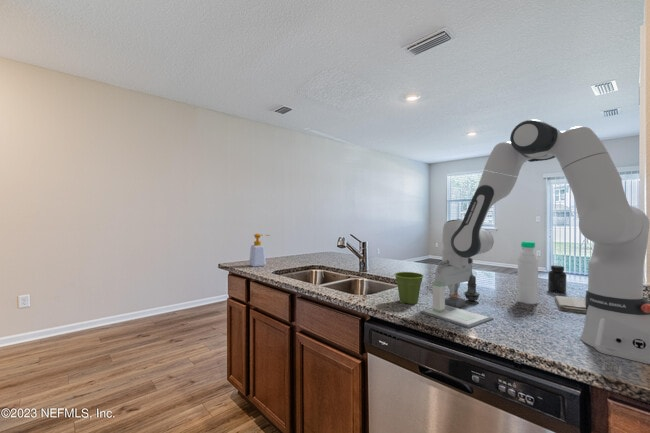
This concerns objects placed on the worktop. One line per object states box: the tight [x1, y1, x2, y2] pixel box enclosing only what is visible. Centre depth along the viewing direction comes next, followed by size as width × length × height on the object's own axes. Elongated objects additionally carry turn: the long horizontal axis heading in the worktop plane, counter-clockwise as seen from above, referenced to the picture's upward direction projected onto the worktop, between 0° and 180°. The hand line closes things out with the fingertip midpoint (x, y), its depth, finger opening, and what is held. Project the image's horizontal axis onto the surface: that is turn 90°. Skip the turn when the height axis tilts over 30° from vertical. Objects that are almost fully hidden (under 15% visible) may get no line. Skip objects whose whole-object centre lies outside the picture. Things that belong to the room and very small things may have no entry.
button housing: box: [445, 295, 466, 308], centre depth 122 cm, size 6×6×2 cm
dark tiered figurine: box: [463, 273, 480, 305], centre depth 126 cm, size 6×6×12 cm
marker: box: [431, 281, 446, 313], centre depth 112 cm, size 3×3×10 cm
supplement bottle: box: [547, 265, 567, 294], centre depth 144 cm, size 7×7×12 cm
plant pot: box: [393, 271, 425, 305], centre depth 127 cm, size 12×12×11 cm
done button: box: [448, 293, 460, 300], centre depth 122 cm, size 4×4×4 cm
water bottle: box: [516, 240, 539, 305], centre depth 126 cm, size 7×7×25 cm
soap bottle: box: [248, 233, 270, 268], centre depth 214 cm, size 10×14×22 cm
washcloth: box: [554, 295, 587, 315], centre depth 120 cm, size 12×18×3 cm, turn 149°
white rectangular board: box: [419, 305, 494, 329], centre depth 109 cm, size 19×15×1 cm
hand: (453, 294), depth 123 cm, fingers closed, pressing on done button
